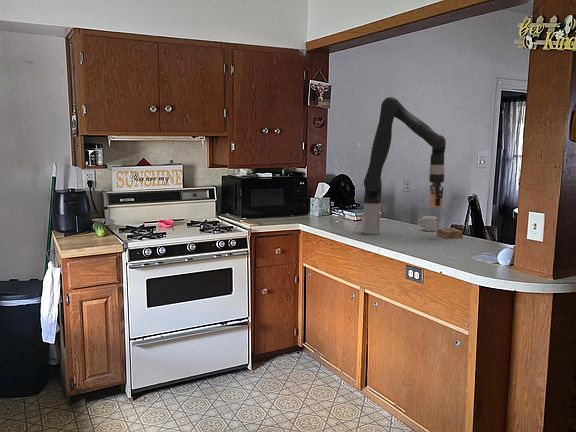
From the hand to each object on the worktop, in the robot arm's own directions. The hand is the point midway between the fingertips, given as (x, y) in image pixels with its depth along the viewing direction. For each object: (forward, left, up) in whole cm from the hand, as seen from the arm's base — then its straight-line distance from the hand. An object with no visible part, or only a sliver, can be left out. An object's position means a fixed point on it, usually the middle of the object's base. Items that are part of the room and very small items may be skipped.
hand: (435, 205), depth 287 cm
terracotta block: (0, 0, -1) cm, 1 cm away
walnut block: (+9, +3, -18) cm, 21 cm away
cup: (+3, +22, -18) cm, 28 cm away
